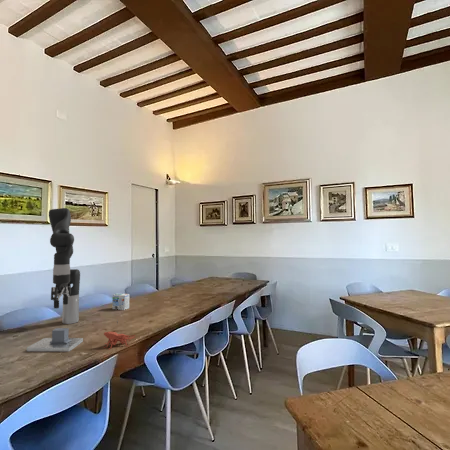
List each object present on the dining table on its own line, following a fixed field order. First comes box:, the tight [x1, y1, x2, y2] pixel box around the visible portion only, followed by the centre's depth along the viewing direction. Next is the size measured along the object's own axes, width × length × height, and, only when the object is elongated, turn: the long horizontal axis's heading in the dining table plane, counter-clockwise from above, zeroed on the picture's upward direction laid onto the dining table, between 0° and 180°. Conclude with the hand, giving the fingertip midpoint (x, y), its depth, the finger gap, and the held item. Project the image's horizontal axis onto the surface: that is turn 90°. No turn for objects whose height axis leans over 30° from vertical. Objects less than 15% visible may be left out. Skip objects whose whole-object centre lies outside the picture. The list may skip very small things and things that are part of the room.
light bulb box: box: [111, 292, 130, 311], centre depth 236 cm, size 11×7×11 cm, turn 76°
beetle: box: [103, 320, 136, 350], centre depth 157 cm, size 15×12×13 cm
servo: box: [49, 327, 71, 345], centre depth 154 cm, size 4×8×8 cm, turn 89°
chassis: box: [26, 337, 84, 353], centre depth 154 cm, size 14×20×2 cm
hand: (61, 306), depth 155 cm, fingers open, 8 cm apart
